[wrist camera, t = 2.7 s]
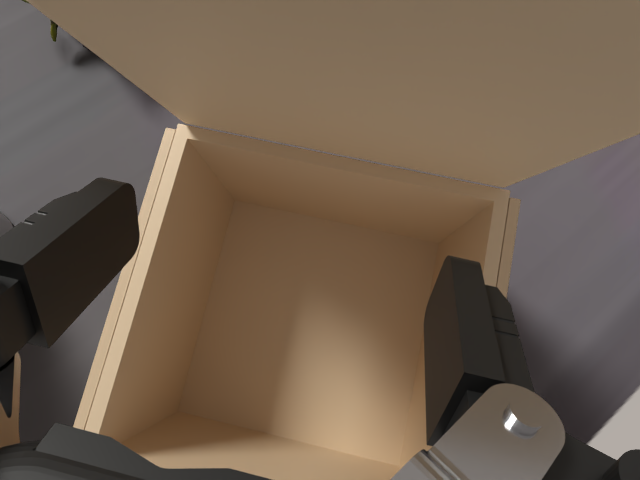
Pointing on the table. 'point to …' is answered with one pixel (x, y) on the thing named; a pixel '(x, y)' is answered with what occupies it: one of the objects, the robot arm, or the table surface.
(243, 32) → the carton flap
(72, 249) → the robot arm
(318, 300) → the carton
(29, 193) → the table surface
